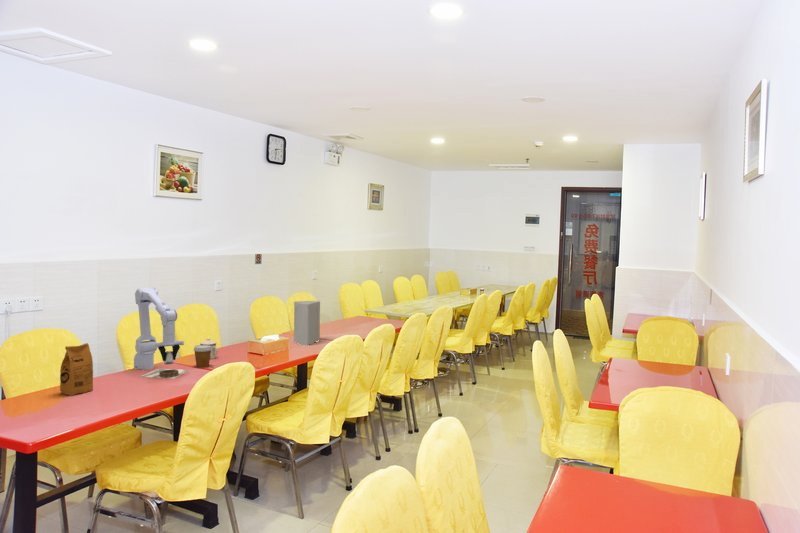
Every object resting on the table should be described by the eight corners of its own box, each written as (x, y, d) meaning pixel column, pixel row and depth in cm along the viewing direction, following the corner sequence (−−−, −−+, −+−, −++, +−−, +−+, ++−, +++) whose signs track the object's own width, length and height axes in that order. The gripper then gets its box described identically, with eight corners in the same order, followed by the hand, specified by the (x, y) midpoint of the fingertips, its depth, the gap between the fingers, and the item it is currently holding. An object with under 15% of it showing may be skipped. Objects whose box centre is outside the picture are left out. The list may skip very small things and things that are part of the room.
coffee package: (57, 393, 264) (56, 345, 263) (83, 387, 274) (83, 341, 273) (69, 396, 259) (68, 348, 257) (96, 390, 269) (95, 344, 268)
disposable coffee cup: (214, 366, 322) (214, 345, 322) (207, 370, 313) (207, 348, 312) (198, 365, 323) (198, 344, 322) (190, 369, 314) (190, 347, 313)
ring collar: (156, 377, 292) (155, 373, 292) (165, 373, 301) (165, 369, 301) (172, 378, 291) (172, 374, 291) (181, 373, 300) (181, 370, 300)
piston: (162, 364, 294) (162, 352, 294) (167, 362, 298) (167, 350, 298) (170, 364, 293) (170, 352, 293) (175, 362, 298) (175, 351, 297)
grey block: (300, 339, 407) (301, 300, 406) (319, 341, 403) (320, 301, 402) (287, 344, 389) (288, 303, 388) (307, 346, 385) (308, 304, 383)
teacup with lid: (196, 358, 341) (196, 338, 340) (208, 355, 349) (208, 336, 349) (212, 360, 336) (212, 340, 335) (223, 357, 344) (223, 338, 343)
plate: (139, 378, 293) (139, 376, 293) (158, 370, 310) (158, 368, 310) (173, 380, 290) (173, 378, 290) (190, 372, 308) (190, 370, 308)
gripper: (156, 336, 287) (156, 363, 288) (185, 333, 296) (185, 360, 297) (152, 334, 293) (152, 360, 293) (181, 331, 302) (181, 357, 302)
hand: (169, 360), depth 295 cm, fingers closed on piston, 4 cm apart
